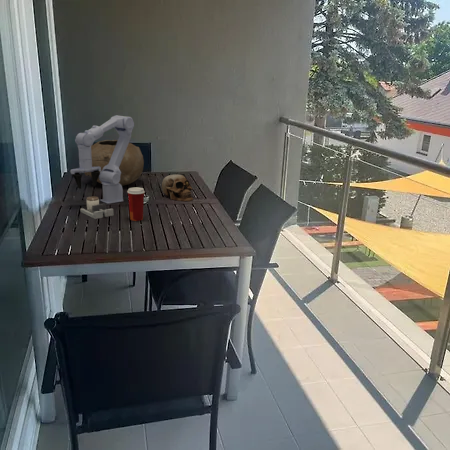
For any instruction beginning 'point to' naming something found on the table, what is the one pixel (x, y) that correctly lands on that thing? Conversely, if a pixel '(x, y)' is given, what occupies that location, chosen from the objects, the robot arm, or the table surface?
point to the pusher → (99, 208)
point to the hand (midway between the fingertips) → (86, 187)
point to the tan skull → (177, 188)
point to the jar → (92, 202)
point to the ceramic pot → (129, 164)
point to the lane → (98, 213)
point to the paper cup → (136, 203)
